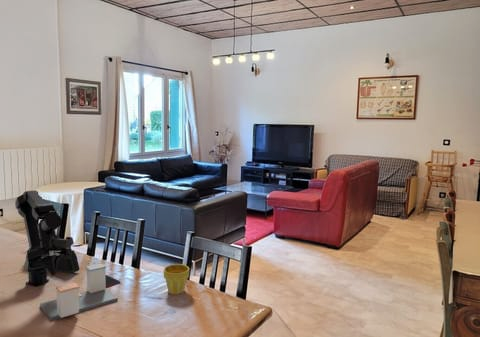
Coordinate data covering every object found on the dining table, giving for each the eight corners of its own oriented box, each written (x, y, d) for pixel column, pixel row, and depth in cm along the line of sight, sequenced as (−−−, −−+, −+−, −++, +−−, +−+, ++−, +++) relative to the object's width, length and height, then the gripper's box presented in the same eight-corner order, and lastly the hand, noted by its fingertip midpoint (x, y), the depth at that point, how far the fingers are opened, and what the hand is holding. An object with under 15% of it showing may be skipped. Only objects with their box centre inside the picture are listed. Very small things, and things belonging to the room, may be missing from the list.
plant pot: (182, 298, 149) (182, 274, 148) (158, 294, 152) (159, 271, 151) (192, 288, 159) (193, 265, 158) (170, 284, 162) (171, 262, 161)
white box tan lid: (56, 313, 131) (55, 287, 130) (75, 307, 135) (74, 282, 134) (60, 318, 128) (60, 291, 127) (79, 312, 132) (79, 286, 131)
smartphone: (101, 272, 171) (121, 281, 162) (101, 274, 171) (121, 283, 162) (86, 277, 165) (106, 286, 156) (86, 279, 165) (106, 288, 156)
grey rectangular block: (86, 289, 150) (85, 266, 149) (101, 285, 155) (101, 263, 154) (90, 293, 147) (90, 270, 146) (106, 289, 152) (106, 266, 151)
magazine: (83, 254, 170) (37, 227, 179) (78, 256, 167) (31, 229, 176) (75, 287, 173) (30, 258, 183) (70, 289, 170) (24, 261, 180)
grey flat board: (40, 306, 138) (40, 302, 138) (103, 289, 155) (103, 285, 155) (51, 320, 129) (51, 316, 129) (117, 300, 145) (117, 296, 145)
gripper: (50, 228, 135) (57, 271, 132) (80, 229, 153) (87, 267, 150) (23, 236, 136) (29, 279, 133) (56, 237, 154) (62, 275, 151)
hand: (54, 275), depth 141 cm, fingers closed
